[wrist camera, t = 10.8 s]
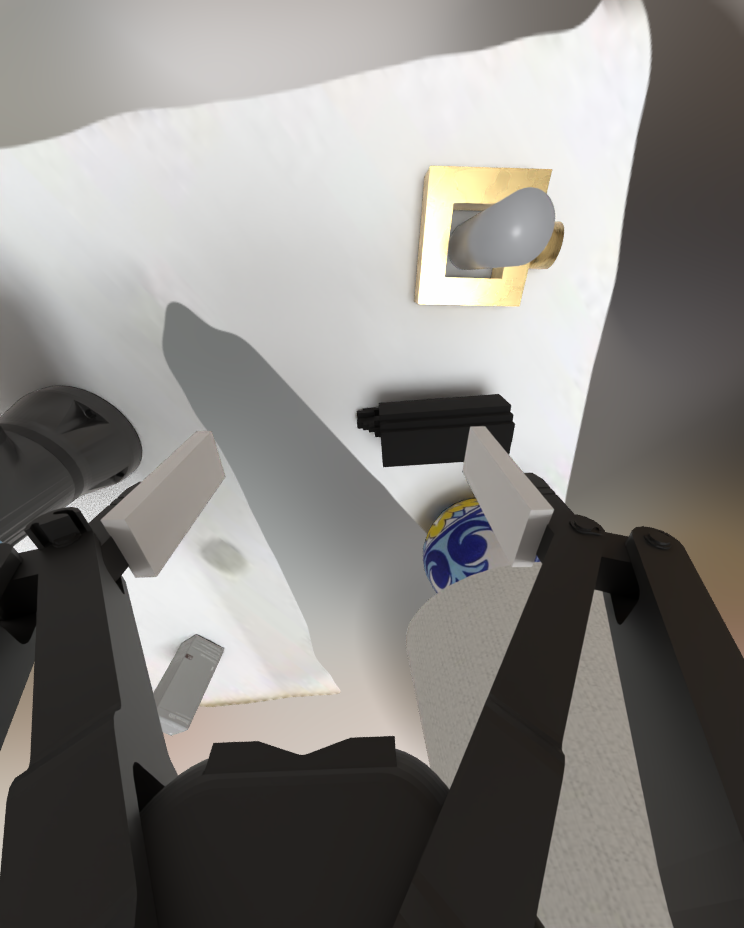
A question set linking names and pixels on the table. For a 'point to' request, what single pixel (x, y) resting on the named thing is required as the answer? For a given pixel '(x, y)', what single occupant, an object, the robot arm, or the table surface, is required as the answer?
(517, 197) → the grey rounded cylinder
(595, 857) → the table lamp
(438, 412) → the security camera
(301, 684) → the table surface
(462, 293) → the gold square frame
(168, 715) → the skincare box
